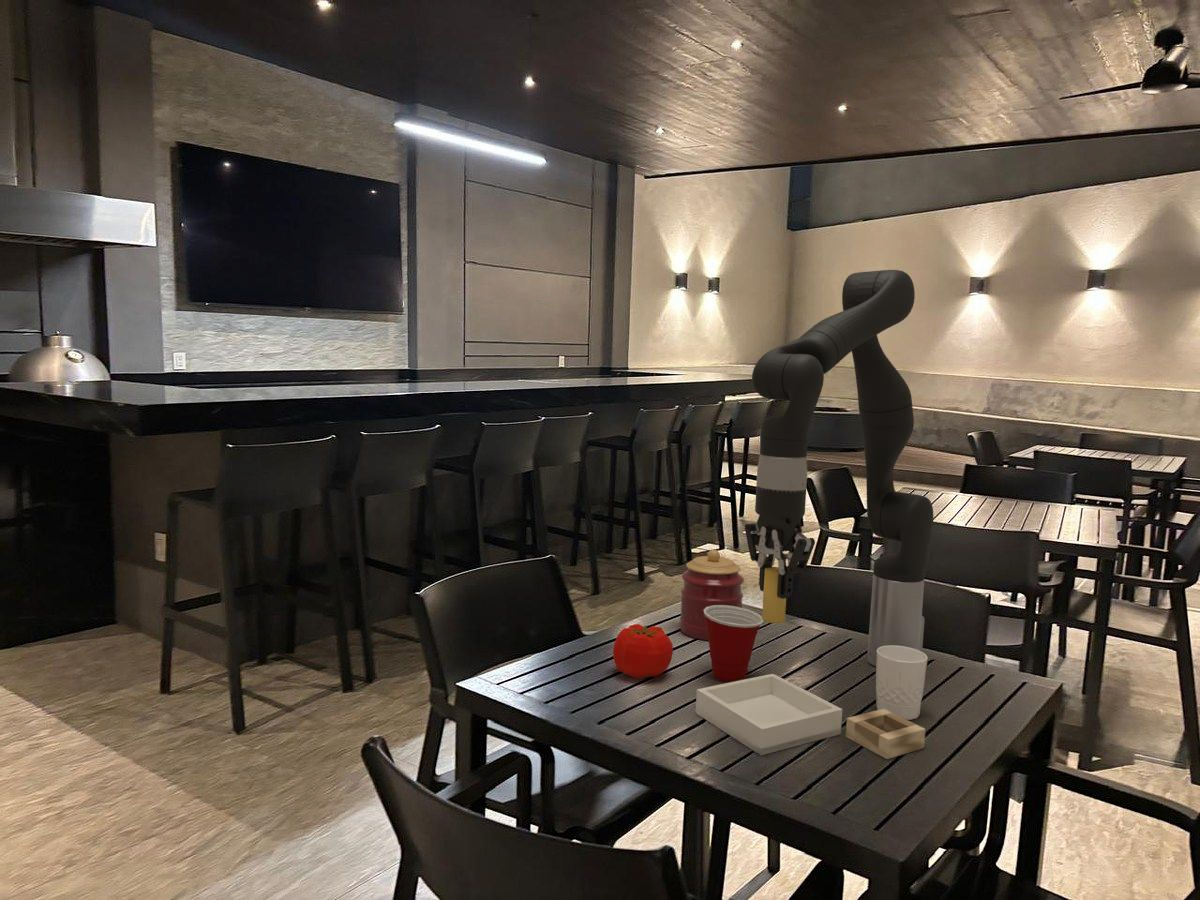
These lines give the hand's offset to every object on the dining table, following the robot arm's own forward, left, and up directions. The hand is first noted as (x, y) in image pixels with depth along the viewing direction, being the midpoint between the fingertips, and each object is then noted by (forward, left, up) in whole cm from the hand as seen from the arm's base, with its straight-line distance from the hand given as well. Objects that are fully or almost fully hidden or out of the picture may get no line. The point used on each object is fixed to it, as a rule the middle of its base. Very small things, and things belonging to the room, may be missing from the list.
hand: (774, 593), depth 129 cm
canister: (-19, -40, -21) cm, 49 cm away
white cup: (-23, +6, -21) cm, 32 cm away
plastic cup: (-7, -18, -21) cm, 29 cm away
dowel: (0, 0, -4) cm, 4 cm away
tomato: (+7, -26, -21) cm, 35 cm away
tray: (0, 0, -21) cm, 21 cm away
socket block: (-12, +13, -21) cm, 27 cm away
